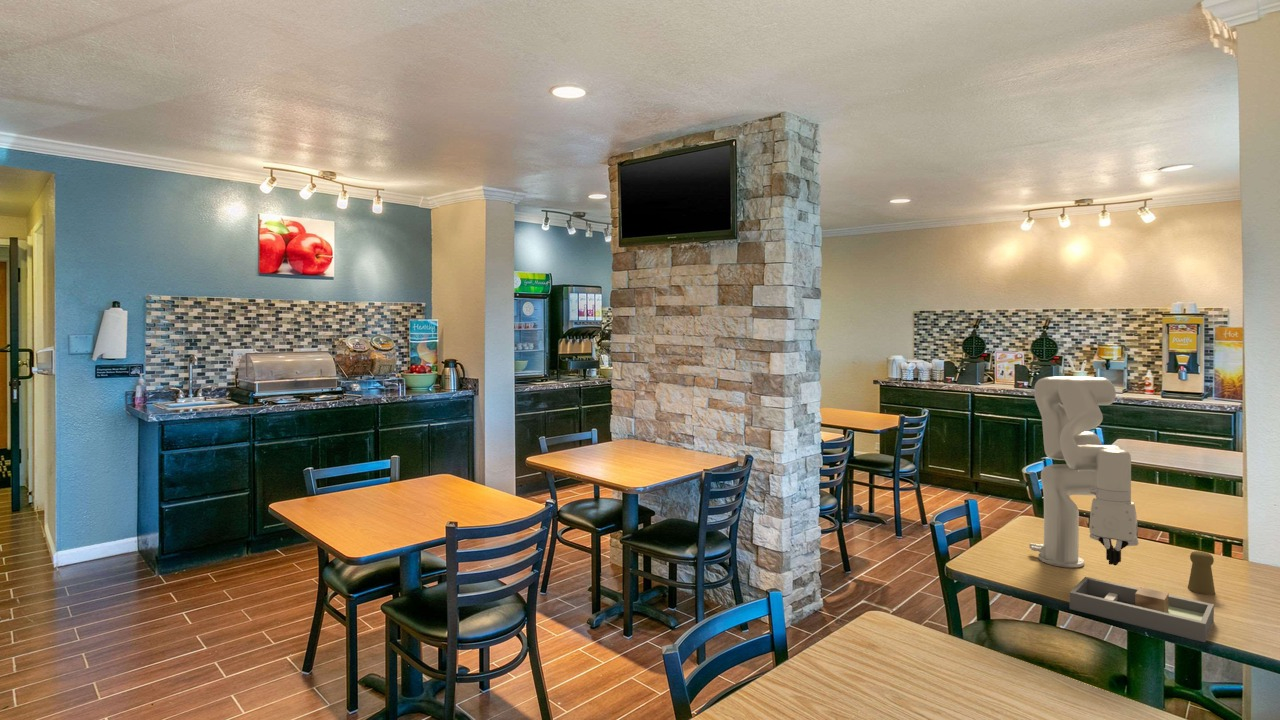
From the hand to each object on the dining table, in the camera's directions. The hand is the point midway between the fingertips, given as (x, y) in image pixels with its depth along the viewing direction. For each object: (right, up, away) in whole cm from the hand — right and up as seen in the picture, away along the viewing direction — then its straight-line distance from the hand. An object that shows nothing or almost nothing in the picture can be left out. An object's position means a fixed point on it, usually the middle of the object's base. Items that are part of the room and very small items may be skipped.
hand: (1113, 563), depth 177 cm
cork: (+34, -12, +12) cm, 38 cm away
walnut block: (+6, -11, -5) cm, 13 cm away
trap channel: (+4, -13, -3) cm, 14 cm away
